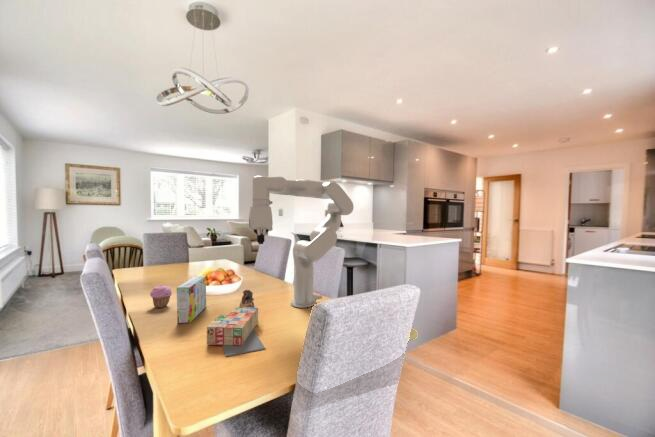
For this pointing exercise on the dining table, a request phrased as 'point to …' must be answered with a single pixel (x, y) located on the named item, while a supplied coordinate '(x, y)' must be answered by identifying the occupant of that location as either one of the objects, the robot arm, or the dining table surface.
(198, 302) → the snack box
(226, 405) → the dining table surface
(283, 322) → the dining table surface
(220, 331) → the stack of blocks
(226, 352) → the mat
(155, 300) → the cupcake
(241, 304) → the figurine
